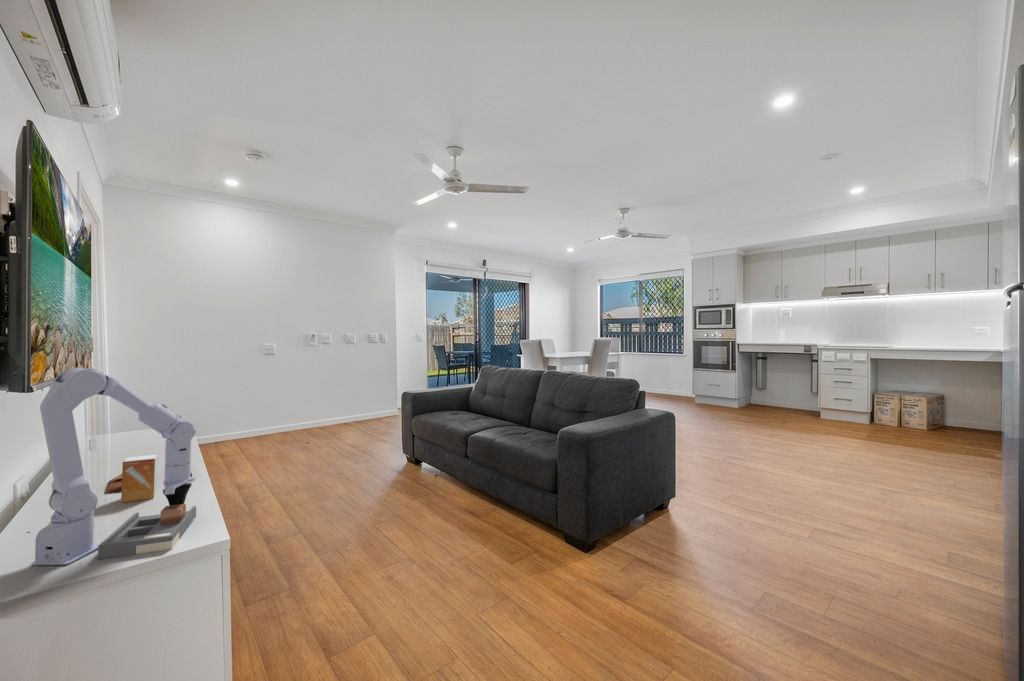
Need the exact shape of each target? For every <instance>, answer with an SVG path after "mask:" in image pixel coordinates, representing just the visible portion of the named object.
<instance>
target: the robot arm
mask: <svg viewBox="0 0 1024 681" xmlns="http://www.w3.org/2000/svg"><path fill="white" fill-rule="evenodd" d="M96 395H100V396H106V397H107V396H108V397H110V398H112V399H113V400H115V401H117V402H118V403H121V404H122V405H124V406H125V407H127V408H129V409H130V410H133V411H135V412H136V413H137V416H138V421H139V422H141V423H143V424H144V425H146V426H148V427H149V428H151V429H152V430H154V431H156V432H157V433H159V434H160V435H161V438H163V439H165V449H164V450H165V452H164V453H165V454H164V456H165V457H164V458H165V459H164V480H163V486H164V489H162V494H163V495H164V496H165V498H166V500H167V502H168V506H171V505H180V504H186V497H187V495H188V492H189V491H190V488H191V487H192V483H191V482H195V480H196V476H191V466H192V465H191V462H192V461H191V460H192V457H191V456H192V455H191V454H192V439H193V438H194V437H195V435H196V432H197V430H196V429H195V428H194V425H193V424H192V422H189V421H185V420H182V419H183V416H181V415H180V414H175V413H173V412H172V411H170V410H169V409H168V408H169V406H168V405H166V404H164V403H161V404H160V403H157V402H154V403H149V402H148V401H146V400H145V399H144V398H142V397H141V396H139V395H138V394H136V393H135V392H133V391H132V390H131V389H129V388H128V387H127V386H125V385H124V384H123V383H121V382H120V381H119V380H116V379H115V378H114V377H112V376H109V375H107V374H105V373H104V372H103V371H100V370H99V369H95V368H83V367H72V368H69V369H66V370H65V371H63V372H61V374H59V375H58V376H56V377H55V378H54V379H53V381H52V385H51V386H50V388H49V390H48V392H47V393H46V395H45V396H44V398H43V399H42V401H41V403H40V405H39V410H40V417H41V420H42V426H43V430H44V436H45V441H46V446H47V450H48V456H49V462H50V467H51V472H52V478H53V481H52V482H51V494H50V496H49V498H48V505H49V507H50V509H52V510H53V511H54V512H53V514H52V515H51V517H50V521H49V523H48V525H47V526H45V527H43V528H42V529H40V530H39V531H38V532H37V534H36V537H35V548H34V549H35V551H34V552H35V553H34V554H35V555H34V558H35V559H34V561H33V562H31V563H30V565H31V566H65V565H70V564H71V563H73V562H75V561H78V560H80V559H82V558H83V557H85V556H87V555H89V554H91V553H93V552H95V551H97V550H98V546H99V545H100V544H101V543H94V526H95V525H94V523H95V522H94V521H95V520H94V519H95V515H94V514H95V509H96V507H97V505H98V496H97V495H96V494H95V493H94V492H93V491H92V490H91V488H90V483H89V482H88V480H87V478H86V476H85V473H84V467H83V462H82V456H81V452H80V451H81V450H80V447H79V442H78V441H79V440H78V435H77V431H76V430H77V428H76V425H75V419H74V413H73V412H74V410H75V408H77V407H78V406H79V405H80V404H81V403H83V402H84V401H85V400H87V399H89V398H91V397H93V396H96Z"/></svg>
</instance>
